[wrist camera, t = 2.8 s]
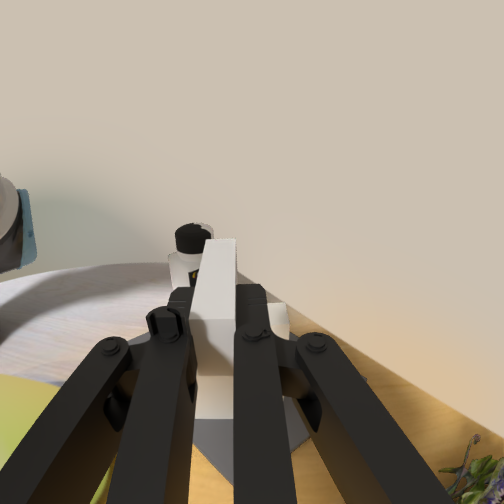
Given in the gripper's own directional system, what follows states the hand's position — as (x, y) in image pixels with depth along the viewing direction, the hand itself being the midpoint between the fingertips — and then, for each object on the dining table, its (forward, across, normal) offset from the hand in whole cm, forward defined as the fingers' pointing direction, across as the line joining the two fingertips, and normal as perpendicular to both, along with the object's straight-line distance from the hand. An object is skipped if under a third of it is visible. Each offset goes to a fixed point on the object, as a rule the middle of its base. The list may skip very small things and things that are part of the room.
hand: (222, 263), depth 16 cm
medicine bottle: (+31, -6, -22) cm, 39 cm away
